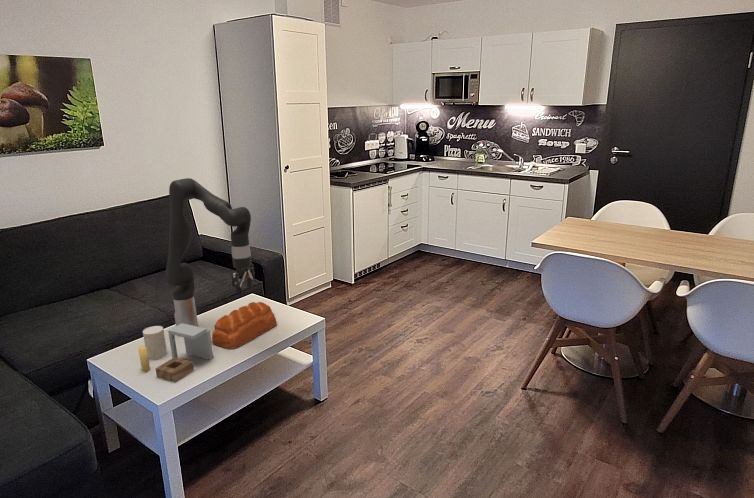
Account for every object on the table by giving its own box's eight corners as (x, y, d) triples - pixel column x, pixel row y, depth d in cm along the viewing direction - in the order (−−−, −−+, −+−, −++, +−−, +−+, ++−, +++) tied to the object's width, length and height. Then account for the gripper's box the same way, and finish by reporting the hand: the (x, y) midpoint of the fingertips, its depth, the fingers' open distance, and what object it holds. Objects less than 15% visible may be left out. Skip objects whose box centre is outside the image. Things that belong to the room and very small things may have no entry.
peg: (140, 370, 206) (136, 348, 204) (146, 367, 209) (142, 345, 206) (145, 372, 205) (141, 350, 202) (151, 368, 208) (147, 346, 205)
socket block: (156, 377, 201) (155, 368, 200) (176, 365, 210) (174, 356, 209) (175, 382, 197) (173, 373, 196) (194, 370, 206) (192, 361, 204)
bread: (208, 344, 229) (204, 317, 225) (257, 318, 254) (254, 294, 251) (232, 351, 221) (229, 324, 217) (280, 324, 246) (278, 299, 243)
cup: (147, 361, 214) (143, 335, 210) (146, 353, 221) (142, 328, 217) (168, 356, 217) (164, 331, 214) (166, 349, 224) (162, 324, 221)
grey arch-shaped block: (172, 361, 213) (168, 330, 209) (188, 352, 221) (184, 321, 217) (197, 368, 207) (193, 336, 203) (213, 358, 215) (209, 327, 211)
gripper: (242, 249, 217) (245, 284, 222) (224, 259, 204) (228, 296, 209) (258, 250, 215) (261, 286, 220) (240, 261, 202) (244, 298, 207)
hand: (244, 291), depth 214 cm, fingers open, 8 cm apart
